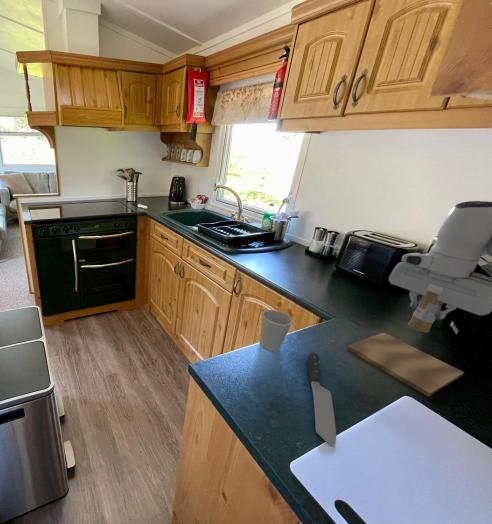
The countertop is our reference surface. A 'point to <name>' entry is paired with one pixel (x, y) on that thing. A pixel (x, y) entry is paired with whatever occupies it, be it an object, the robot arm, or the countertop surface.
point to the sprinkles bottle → (426, 310)
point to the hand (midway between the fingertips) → (425, 312)
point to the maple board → (406, 363)
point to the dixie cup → (274, 329)
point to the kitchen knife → (321, 402)
